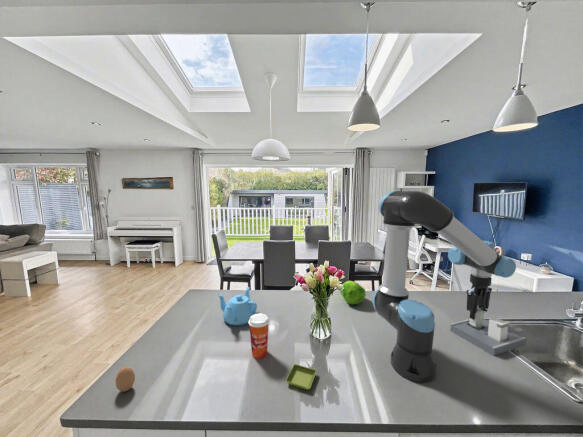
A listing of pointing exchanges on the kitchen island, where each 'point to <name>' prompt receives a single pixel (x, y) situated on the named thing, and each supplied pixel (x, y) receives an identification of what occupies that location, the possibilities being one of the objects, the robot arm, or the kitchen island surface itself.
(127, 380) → the egg
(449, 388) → the kitchen island surface
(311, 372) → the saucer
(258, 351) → the coffee cup
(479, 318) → the peg
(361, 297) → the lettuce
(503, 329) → the block
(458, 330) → the grey socket board
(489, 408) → the kitchen island surface
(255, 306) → the teapot
